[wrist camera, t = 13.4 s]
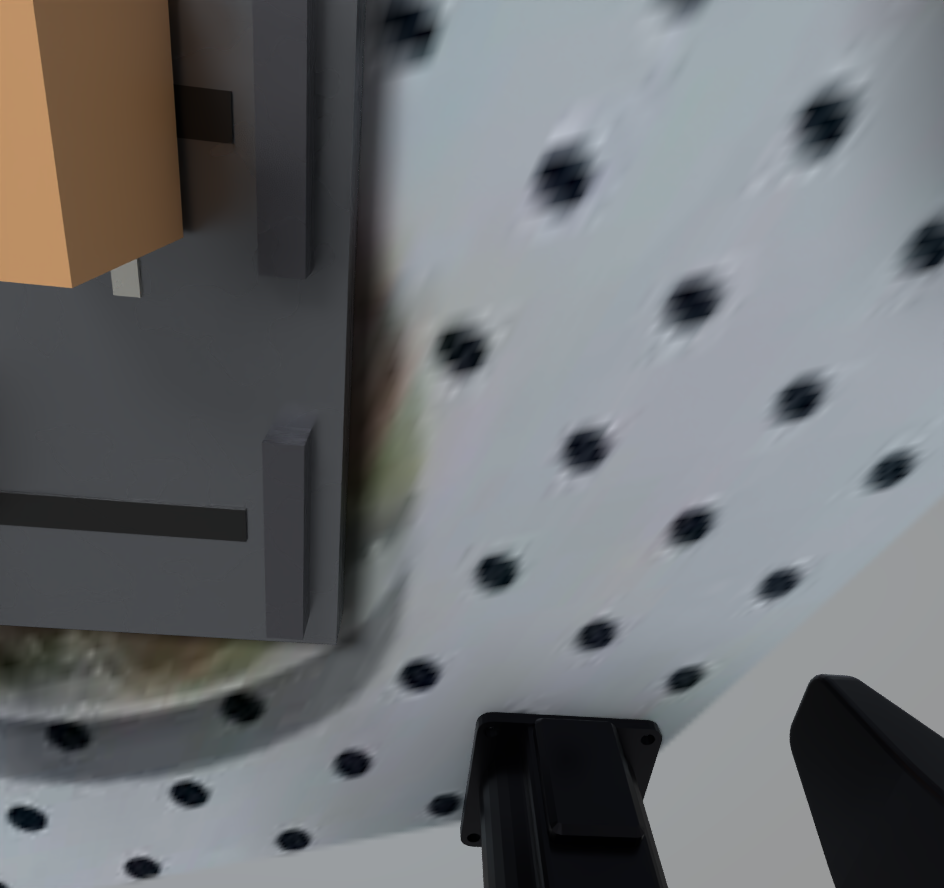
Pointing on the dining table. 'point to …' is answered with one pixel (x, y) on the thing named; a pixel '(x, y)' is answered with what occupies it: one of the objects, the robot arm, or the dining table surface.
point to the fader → (85, 138)
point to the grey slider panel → (202, 361)
